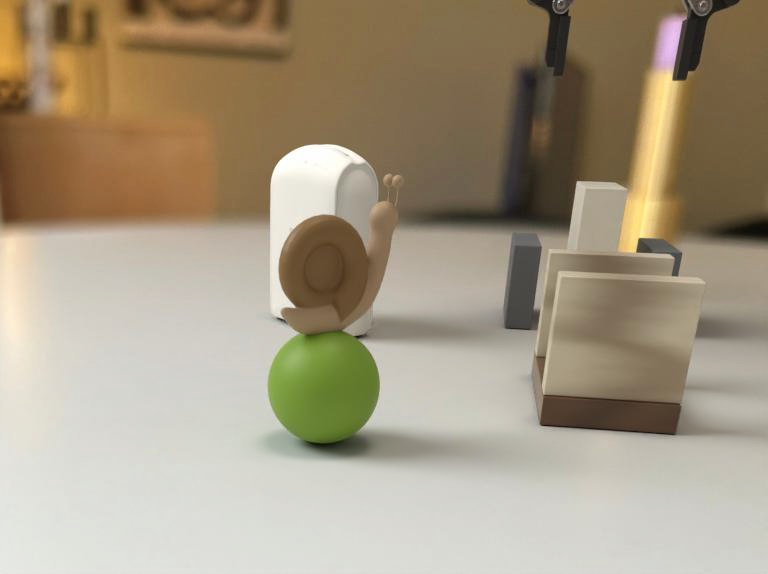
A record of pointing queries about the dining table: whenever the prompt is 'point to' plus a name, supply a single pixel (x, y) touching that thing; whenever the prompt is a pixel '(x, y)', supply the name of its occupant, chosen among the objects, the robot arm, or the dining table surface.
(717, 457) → the dining table surface
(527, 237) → the grey bookends
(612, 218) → the white book
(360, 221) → the white rounded block
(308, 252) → the snail figurine
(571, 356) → the wooden card holder
